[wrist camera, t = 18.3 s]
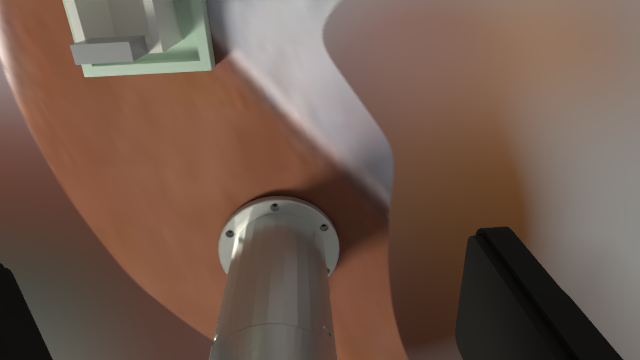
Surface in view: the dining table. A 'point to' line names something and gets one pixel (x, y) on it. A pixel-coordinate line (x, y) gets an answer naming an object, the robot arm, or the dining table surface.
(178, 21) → the box
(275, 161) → the dining table surface
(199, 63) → the tray
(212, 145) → the dining table surface
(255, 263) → the robot arm
